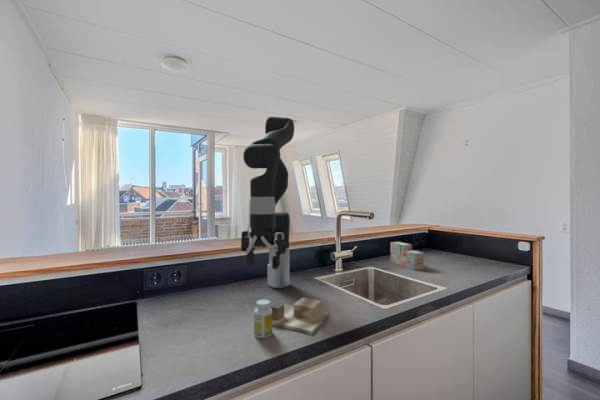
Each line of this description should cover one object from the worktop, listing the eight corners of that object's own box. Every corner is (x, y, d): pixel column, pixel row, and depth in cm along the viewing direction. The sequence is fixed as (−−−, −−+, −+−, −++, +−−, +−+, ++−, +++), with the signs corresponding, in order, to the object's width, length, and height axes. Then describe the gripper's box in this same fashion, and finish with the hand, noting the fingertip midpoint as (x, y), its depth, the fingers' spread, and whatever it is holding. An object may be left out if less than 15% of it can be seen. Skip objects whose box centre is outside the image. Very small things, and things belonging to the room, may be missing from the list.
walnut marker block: (267, 318, 91) (267, 306, 91) (273, 313, 94) (273, 301, 94) (277, 320, 89) (277, 308, 89) (284, 315, 93) (284, 303, 93)
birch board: (260, 322, 90) (260, 319, 90) (282, 306, 103) (282, 304, 103) (311, 334, 82) (311, 331, 82) (328, 315, 95) (328, 313, 95)
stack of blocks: (423, 269, 153) (423, 247, 153) (414, 270, 151) (414, 248, 151) (398, 260, 173) (398, 241, 173) (390, 261, 171) (390, 241, 171)
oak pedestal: (293, 316, 92) (293, 304, 92) (302, 308, 98) (302, 297, 98) (312, 320, 89) (312, 308, 89) (321, 312, 95) (321, 300, 95)
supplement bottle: (253, 339, 80) (253, 305, 79) (254, 330, 85) (254, 298, 85) (272, 338, 80) (272, 305, 80) (272, 329, 85) (272, 298, 85)
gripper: (289, 212, 82) (290, 266, 82) (250, 211, 89) (251, 262, 89) (276, 213, 75) (277, 273, 76) (235, 212, 82) (235, 267, 82)
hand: (263, 267), depth 82 cm, fingers open, 8 cm apart
